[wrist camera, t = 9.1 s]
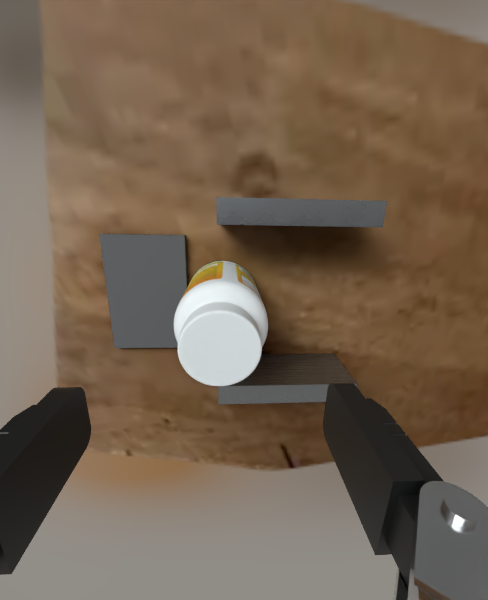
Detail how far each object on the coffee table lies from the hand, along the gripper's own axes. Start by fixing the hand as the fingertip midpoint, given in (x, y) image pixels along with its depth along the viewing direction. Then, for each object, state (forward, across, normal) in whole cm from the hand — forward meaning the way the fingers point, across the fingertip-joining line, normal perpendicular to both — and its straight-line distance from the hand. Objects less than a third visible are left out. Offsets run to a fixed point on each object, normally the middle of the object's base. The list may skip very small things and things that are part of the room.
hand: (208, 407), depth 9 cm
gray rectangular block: (+14, +6, 0) cm, 15 cm away
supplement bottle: (+14, 0, 0) cm, 14 cm away
